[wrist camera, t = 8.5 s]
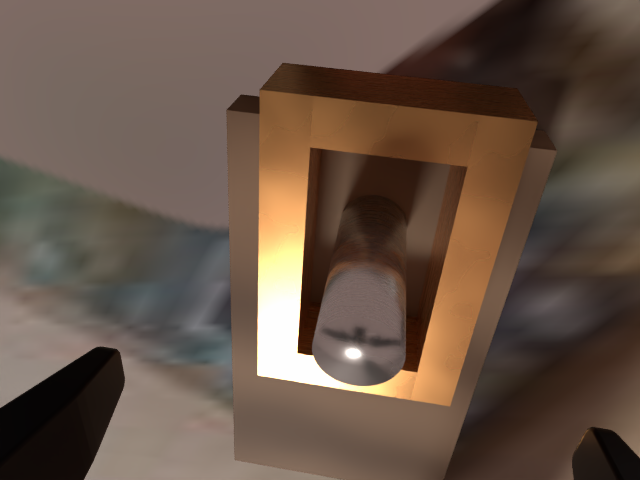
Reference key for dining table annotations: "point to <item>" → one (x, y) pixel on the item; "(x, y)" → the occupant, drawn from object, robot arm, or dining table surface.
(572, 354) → the dining table surface
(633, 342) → the dining table surface
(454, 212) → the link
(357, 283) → the keeper peg
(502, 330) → the dining table surface
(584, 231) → the dining table surface
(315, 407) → the board
